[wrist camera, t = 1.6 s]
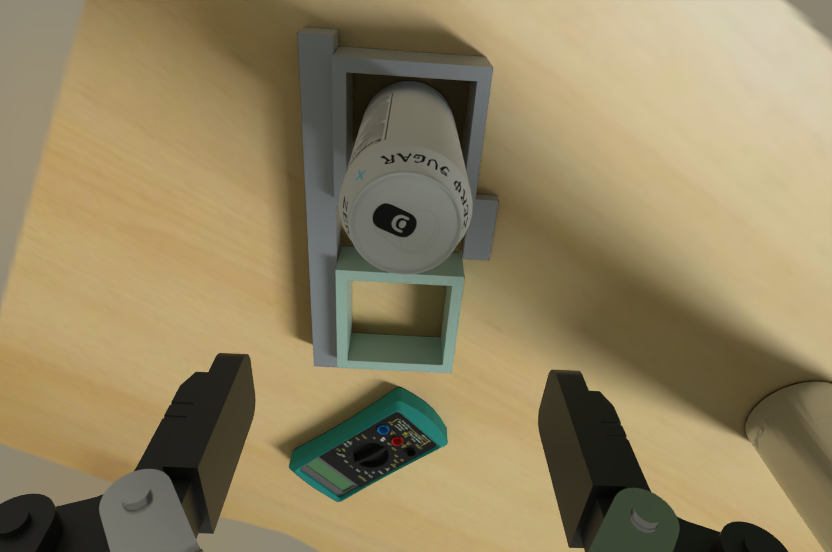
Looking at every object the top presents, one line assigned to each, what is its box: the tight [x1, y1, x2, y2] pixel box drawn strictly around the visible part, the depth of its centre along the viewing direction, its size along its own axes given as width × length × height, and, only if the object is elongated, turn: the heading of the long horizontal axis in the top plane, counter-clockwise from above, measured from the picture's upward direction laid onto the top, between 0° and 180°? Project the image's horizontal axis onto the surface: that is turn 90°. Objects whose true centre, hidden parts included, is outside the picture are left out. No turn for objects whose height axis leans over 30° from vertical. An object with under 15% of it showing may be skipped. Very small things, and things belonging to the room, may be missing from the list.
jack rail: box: [297, 27, 499, 373], centre depth 37 cm, size 13×25×4 cm, turn 176°
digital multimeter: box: [289, 388, 448, 502], centre depth 50 cm, size 7×15×3 cm, turn 129°
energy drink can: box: [338, 81, 473, 275], centre depth 28 cm, size 6×6×15 cm
